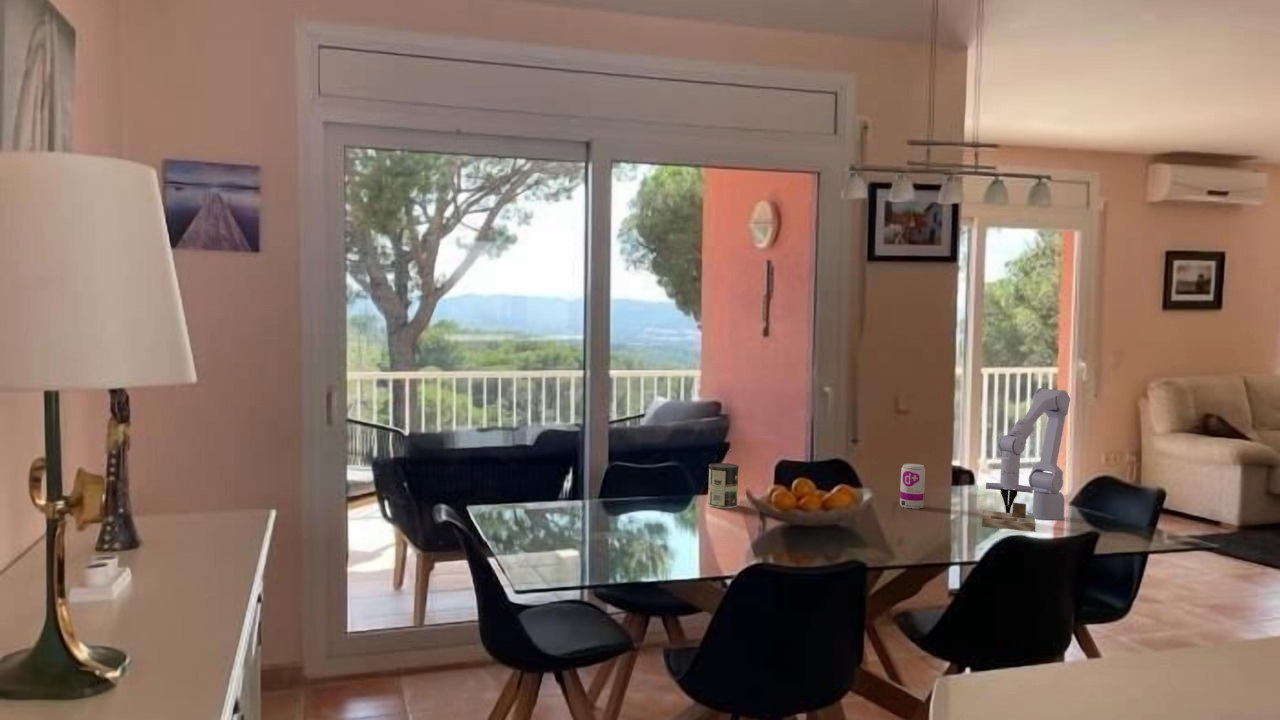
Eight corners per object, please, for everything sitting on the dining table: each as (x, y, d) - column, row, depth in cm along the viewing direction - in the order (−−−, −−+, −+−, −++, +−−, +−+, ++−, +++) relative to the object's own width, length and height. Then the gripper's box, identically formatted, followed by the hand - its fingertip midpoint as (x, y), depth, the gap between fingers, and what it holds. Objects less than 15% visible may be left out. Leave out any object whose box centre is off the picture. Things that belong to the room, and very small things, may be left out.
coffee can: (736, 503, 335) (737, 463, 334) (738, 509, 325) (739, 468, 324) (706, 502, 335) (708, 462, 334) (708, 508, 325) (709, 467, 324)
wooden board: (1033, 522, 318) (1034, 515, 318) (1035, 531, 305) (1035, 523, 305) (982, 517, 323) (983, 510, 323) (982, 526, 310) (982, 518, 310)
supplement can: (918, 510, 332) (920, 467, 331) (896, 507, 337) (897, 464, 336) (927, 507, 338) (929, 465, 338) (904, 503, 343) (906, 462, 342)
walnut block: (1025, 515, 317) (1025, 503, 316) (1025, 518, 313) (1026, 506, 313) (1012, 514, 318) (1012, 502, 318) (1012, 516, 314) (1013, 504, 314)
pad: (1033, 522, 318) (1034, 515, 318) (1034, 528, 310) (1035, 520, 310) (1017, 521, 320) (1018, 513, 319) (1018, 526, 312) (1018, 518, 312)
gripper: (986, 471, 315) (984, 512, 315) (1034, 475, 310) (1031, 517, 310) (986, 468, 321) (984, 508, 322) (1033, 472, 316) (1031, 513, 317)
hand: (1007, 512), depth 317 cm, fingers closed
